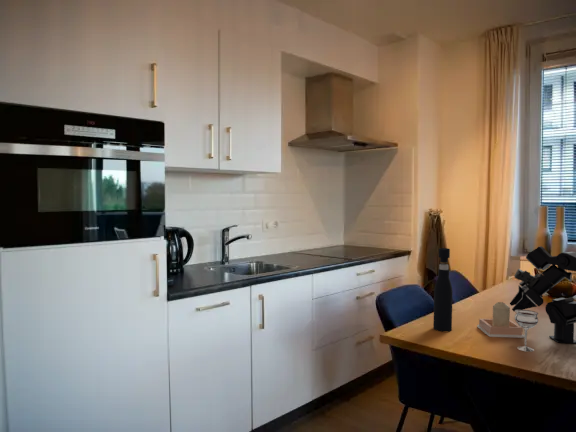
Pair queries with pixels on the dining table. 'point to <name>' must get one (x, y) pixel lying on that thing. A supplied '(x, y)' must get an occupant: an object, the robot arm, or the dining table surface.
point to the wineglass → (526, 324)
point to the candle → (501, 315)
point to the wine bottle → (443, 295)
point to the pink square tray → (500, 329)
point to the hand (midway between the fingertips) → (511, 307)
